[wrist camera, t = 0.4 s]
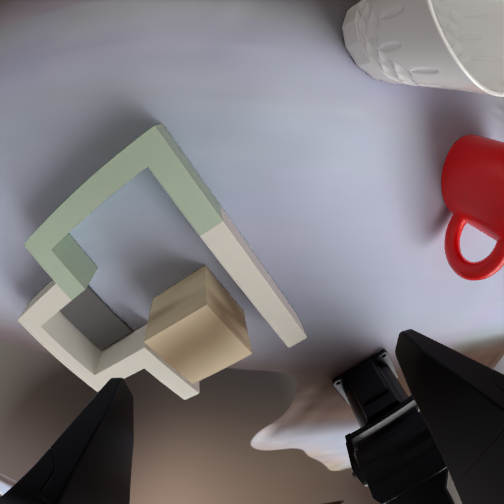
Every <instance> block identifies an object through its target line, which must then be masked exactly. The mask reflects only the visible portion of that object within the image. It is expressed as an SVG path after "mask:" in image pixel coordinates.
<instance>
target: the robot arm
mask: <svg viewBox="0 0 504 504" xmlns="http://www.w3.org/2000/svg"><path fill="white" fill-rule="evenodd" d="M395 354H396V357H397V360H398V362H399V365H400V367H401V370H402V372H403V375H404V377H405V380H406V382H407V385H408V387H409V390H410V392H411V394H412V395H411V396H410V397H408V395H407V394H406V392H405V391H404V389H403V387H402V386H401V384H400V383H399V381H398V379H397V378H398V376H397V374H396V371H395V369H394V366H393V364H392V361H391V359H390V357H389V354H388V352H387V351H386V350H382V351H380V352H379V353H377V354H376V355H374V356H372V357H371V358H369V359H368V360H366V361H364V362H363V363H361V364H359V365H358V366H356V367H354V368H353V369H351V370H349V371H348V372H346V373H344V374H342V375H341V376H339V377H337V378H335V379H334V380H333V384H334V386H335V387H336V389H337V390H338V391H339V393H340V394H341V395H342V397H343V398H344V399H345V400H346V402H347V403H348V404H349V405H350V406H351V408H352V410H353V412H354V414H355V416H356V419H357V421H358V423H359V425H360V427H361V428H360V429H358V430H356V431H355V432H353V433H351V434H350V433H349V434H348V435H346V436H345V438H346V446H347V450H348V454H349V458H350V462H351V466H352V475H353V476H354V477H355V478H358V479H359V480H360V481H361V482H362V484H363V485H365V486H368V487H369V488H370V491H371V494H372V496H373V498H374V499H375V500H376V501H378V502H380V503H381V504H384V503H385V504H457V503H456V501H455V499H454V497H453V495H452V493H451V492H450V489H449V488H448V482H449V474H450V475H451V477H452V480H453V482H454V485H455V487H456V489H457V492H458V494H459V496H460V499H461V501H462V504H504V374H502V373H499V372H497V371H495V370H493V369H492V370H491V368H489V367H487V366H485V365H483V364H481V363H479V362H477V361H475V360H473V359H471V358H469V357H467V356H465V355H463V354H461V353H459V352H457V351H455V350H453V349H451V348H449V347H447V346H445V345H443V344H441V343H439V342H437V341H434V340H432V339H430V338H428V337H426V336H424V335H422V334H420V333H418V332H416V331H414V330H412V329H409V330H405V331H402V332H400V334H399V337H398V341H397V345H396V349H395ZM133 441H134V418H133V395H132V392H131V391H130V389H129V387H128V385H127V383H126V381H125V380H124V379H123V378H121V377H119V378H111V379H110V380H109V381H108V382H107V383H106V384H105V385H104V386H103V387H102V389H101V390H100V391H99V392H98V393H97V394H96V395H95V396H94V398H93V399H92V400H91V401H90V402H89V403H88V405H87V406H86V407H85V408H84V409H83V410H82V411H81V413H80V414H79V415H78V416H77V417H76V418H75V419H74V421H73V422H72V423H71V424H70V425H69V426H68V427H67V429H66V430H65V431H64V432H63V433H62V434H61V436H60V437H59V438H58V439H57V440H56V441H55V443H54V444H53V445H52V446H51V449H49V450H48V451H47V452H46V453H45V454H44V455H43V457H42V458H41V459H40V460H39V461H38V462H37V463H36V464H35V465H34V467H32V468H31V469H30V470H29V471H28V472H27V473H26V474H25V476H23V477H22V478H21V479H20V480H19V481H18V482H17V483H16V484H15V485H14V486H13V487H12V488H11V489H10V490H8V491H7V492H6V493H5V494H4V495H2V496H1V497H0V504H129V501H130V483H131V468H132V455H133Z"/></svg>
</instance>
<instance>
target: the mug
mask: <svg viewBox="0 0 504 504" xmlns="http://www.w3.org/2000/svg"><path fill="white" fill-rule="evenodd" d="M441 185H442V195H443V199H444V202H445V205H446V207H447V208H448V210H449V211H450V212H451V213H452V214H453V216H452V218H451V219H450V222H449V224H448V227H447V230H446V234H445V254H446V258H447V260H448V263H449V265H450V266H451V268H452V269H453V270H454V272H455V273H456V274H457V275H459V276H460V277H462V278H464V279H467V280H482V279H486V278H488V277H490V276H492V275H494V274H495V273H496V272H497V271H499V270H500V269H501V267H502V266H503V265H504V142H500V141H496V140H493V139H489V138H485V137H481V136H477V135H466V136H464V137H462V138H460V139H459V140H458V141H456V142H455V143H454V145H453V146H452V148H451V149H450V151H449V153H448V155H447V157H446V160H445V163H444V166H443V171H442V180H441ZM466 223H468V224H470V225H472V226H473V227H475V228H477V229H478V230H480V231H482V232H483V233H485V234H486V235H488V236H490V237H491V238H493V239H495V240H496V241H497V243H496V245H495V247H494V249H493V251H492V252H491V253H490V254H489V255H488V256H487V257H486V258H485V259H483V260H481V261H479V262H470V261H468V260H466V259H465V258H464V257H463V256H462V254H461V251H460V236H461V232H462V230H463V227H464V226H465V224H466Z"/></svg>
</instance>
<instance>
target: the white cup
mask: <svg viewBox="0 0 504 504" xmlns="http://www.w3.org/2000/svg"><path fill="white" fill-rule="evenodd" d="M342 30H343V36H344V41H345V47H346V49H347V50H348V52H349V53H350V55H351V57H352V58H353V60H354V61H355V63H356V65H357V66H358V67H360V68H361V69H362V70H364V71H365V72H366V73H367V74H369V75H370V76H371V77H372V78H374V79H377V80H381V81H384V82H388V83H391V84H408V85H414V86H426V87H432V88H441V89H451V90H460V91H467V92H475V93H481V94H487V95H493V96H498V97H504V0H360V1H359V2H357V3H356V4H355V5H353V6H352V7H351V8H350V9H348V10H347V13H346V16H345V19H344V22H343V25H342Z"/></svg>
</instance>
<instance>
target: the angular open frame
mask: <svg viewBox="0 0 504 504" xmlns="http://www.w3.org/2000/svg"><path fill="white" fill-rule="evenodd" d="M146 167H148V168H149V169H150V170H151V172H152V173H153V175H154V176H155V177H156V179H157V180H158V181H159V183H160V184H161V185H162V187H163V188H164V189H165V191H166V192H167V193H168V195H169V196H170V197H171V199H172V200H173V201H174V203H175V204H176V205H177V207H178V208H179V209H180V211H181V212H182V213H183V215H184V216H185V217H186V219H187V220H188V221H189V223H190V224H191V225H192V227H193V228H194V229H195V231H196V232H197V233H198V234H199V236H200V237H201V238H202V240H203V241H204V242H205V244H206V245H207V246H208V247H209V249H210V250H211V251H212V253H213V254H214V255H215V257H216V258H217V259H218V260H219V262H220V263H221V264H222V266H223V267H224V268H225V269H226V271H227V272H228V273H229V274H230V276H231V277H232V278H233V280H234V281H235V282H236V283H237V285H238V286H239V287H240V288H241V290H242V291H243V292H244V293H245V295H246V296H247V297H248V298H249V300H250V301H251V302H252V304H253V305H254V306H255V307H256V308H257V310H258V311H259V312H260V313H261V315H262V316H263V317H264V318H265V320H266V321H267V322H268V323H269V325H270V326H271V327H272V328H273V330H274V331H275V332H276V333H277V334H278V336H279V337H280V338H281V339H282V341H283V342H284V343H285V344H286V345H287V347H288V348H290V347H292V346H293V345H295V344H297V343H299V342H301V341H302V340H304V339H306V338H307V336H306V334H305V331H304V329H303V327H302V325H301V322H300V320H299V318H298V315H297V314H296V312H295V311H294V309H293V308H292V306H291V305H290V304H289V302H288V301H287V299H286V298H285V296H284V295H283V294H282V292H281V291H280V289H279V288H278V287H277V285H276V284H275V282H274V281H273V279H272V278H271V277H270V275H269V274H268V272H267V271H266V270H265V268H264V267H263V265H262V264H261V262H260V261H259V260H258V258H257V257H256V255H255V254H254V253H253V251H252V250H251V248H250V247H249V245H248V244H247V243H246V241H245V240H244V238H243V237H242V236H241V234H240V233H239V231H238V230H237V228H236V227H235V226H234V224H233V223H232V221H231V220H230V219H229V217H228V216H227V214H226V213H225V211H224V210H223V209H222V207H221V206H220V204H219V203H218V202H217V200H216V199H215V197H214V196H213V194H212V193H211V192H210V190H209V189H208V187H207V186H206V185H205V183H204V182H203V180H202V179H201V178H200V176H199V175H198V173H197V172H196V170H195V169H194V168H193V166H192V165H191V163H190V162H189V161H188V159H187V158H186V156H185V155H184V153H183V152H182V151H181V149H180V148H179V146H178V145H177V144H176V142H175V141H174V139H173V138H172V136H171V135H170V134H169V132H168V131H167V129H166V128H165V127H164V125H163V124H158V125H155V126H153V127H152V128H151V129H149V130H148V131H146V132H145V133H144V134H143V135H141V136H140V137H139V138H137V139H136V140H135V141H133V142H132V143H131V144H130V145H128V146H127V147H126V148H125V149H123V150H122V151H121V152H120V153H118V154H117V155H116V156H115V157H114V158H112V159H111V160H110V161H109V162H108V163H106V164H105V165H104V166H103V167H102V168H101V169H99V170H98V171H97V172H96V173H95V174H94V175H93V176H91V177H90V178H89V179H88V180H87V181H86V182H85V183H84V184H83V185H81V186H80V187H79V188H78V189H77V190H76V191H75V192H74V193H73V194H72V195H71V196H70V197H69V198H68V199H67V200H66V201H65V202H63V203H62V204H61V205H60V206H59V207H58V208H57V209H56V210H55V211H54V212H53V213H52V214H51V215H50V216H49V218H48V219H47V220H46V221H45V222H44V223H43V224H42V225H41V226H40V227H39V228H38V229H37V230H36V231H35V232H34V233H33V235H32V236H31V237H30V238H29V239H28V240H27V241H26V242H25V243H24V246H25V247H26V249H27V250H28V251H29V252H30V253H31V255H32V256H33V257H34V258H35V260H36V261H37V262H38V263H39V264H40V266H41V267H42V268H43V269H44V270H45V271H46V273H47V274H48V275H49V276H50V277H51V278H52V279H53V280H52V281H50V282H49V283H48V284H47V285H46V286H45V287H44V288H43V289H42V290H41V291H40V292H39V293H38V294H37V295H36V296H35V297H34V298H33V299H32V300H31V301H30V303H29V304H28V305H27V307H26V308H25V310H24V311H23V313H22V314H21V316H20V317H19V319H18V321H19V322H20V323H21V325H22V326H23V327H24V328H25V329H26V330H27V331H28V332H29V333H30V334H31V335H32V336H33V337H34V338H35V339H36V340H37V341H39V342H40V343H41V344H42V345H43V346H44V347H45V348H46V349H47V350H48V351H49V352H50V353H51V354H52V355H54V356H55V357H56V358H57V359H58V360H59V361H60V362H61V363H63V364H64V365H65V366H66V367H67V368H68V369H70V370H71V371H72V372H73V373H74V374H76V375H77V376H78V377H79V378H81V379H82V380H83V381H84V382H85V383H87V384H88V385H89V386H90V387H92V388H93V389H94V390H96V391H100V390H101V389H102V387H103V386H104V385H105V384H106V383H107V382H108V381H109V380H110V379H111V378H119V377H121V378H123V379H124V378H126V377H128V376H130V375H132V374H134V373H136V372H138V371H139V370H142V369H143V368H145V369H146V370H147V371H148V372H149V373H151V374H152V375H153V376H154V377H156V378H157V379H158V380H159V381H161V382H162V383H163V384H164V385H166V386H167V387H168V388H170V389H171V390H172V391H173V392H175V393H176V394H178V395H179V396H180V397H181V398H183V399H184V400H186V399H188V398H190V397H192V396H195V395H197V394H199V381H198V382H196V383H194V384H192V383H191V382H190V381H188V380H187V379H186V378H185V377H183V376H182V375H181V374H180V373H179V372H177V371H176V370H175V369H174V368H173V367H172V366H170V365H169V364H168V363H167V362H166V361H165V360H163V359H162V358H161V357H160V356H159V355H158V354H157V353H155V352H154V351H153V350H152V349H151V348H150V347H149V346H148V345H147V344H146V343H144V338H145V333H146V328H147V324H146V325H144V326H142V327H141V328H139V329H137V330H136V331H134V332H133V333H131V334H129V333H130V332H132V330H131V329H130V328H129V327H128V326H127V325H126V324H125V323H124V322H123V321H122V320H121V319H120V318H119V317H118V316H117V315H116V314H115V313H114V312H113V311H112V310H111V309H110V308H109V307H108V306H107V305H106V304H105V303H104V302H103V301H102V300H101V299H100V298H99V297H98V295H97V294H96V293H95V292H94V291H93V290H92V289H91V288H90V287H89V286H88V284H89V282H90V281H91V279H92V277H93V275H94V274H95V272H96V270H97V268H98V267H97V266H96V265H95V264H94V263H93V262H92V260H91V259H90V258H89V257H88V256H87V255H86V253H85V252H84V251H83V250H82V249H81V248H80V246H79V245H78V244H77V243H76V241H75V240H74V239H73V238H72V237H71V235H70V234H69V232H70V231H71V230H72V229H73V228H74V227H75V226H77V225H78V224H79V223H80V222H81V221H82V220H83V219H84V218H85V217H87V216H88V215H89V214H90V213H91V212H92V211H93V210H94V209H96V208H97V207H98V206H99V205H100V204H101V203H103V202H104V201H105V200H106V199H107V198H109V197H110V196H111V195H112V194H113V193H115V192H116V191H117V190H118V189H120V188H121V187H122V186H123V185H124V184H126V183H127V182H128V181H130V180H131V179H132V178H133V177H135V176H136V175H137V174H138V173H140V172H141V171H142V170H144V169H145V168H146ZM59 310H60V311H61V312H62V313H63V314H64V315H65V316H66V317H65V316H64V315H63V314H62V313H61V312H60V311H59ZM70 321H71V322H72V323H73V324H74V325H75V326H76V327H77V328H76V327H75V326H74V325H73V324H72V323H71V322H70ZM127 334H129V335H128V336H126V335H127ZM124 336H126V337H124ZM122 337H124V338H123V339H121V338H122ZM119 339H121V340H119ZM117 340H119V341H118V342H116V341H117ZM92 342H93V343H92ZM114 342H116V343H115V344H113V343H114ZM111 344H113V345H111ZM109 345H111V346H110V347H108V346H109ZM106 347H108V348H106ZM104 348H106V349H105V350H103V349H104ZM101 350H103V351H101Z"/></svg>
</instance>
